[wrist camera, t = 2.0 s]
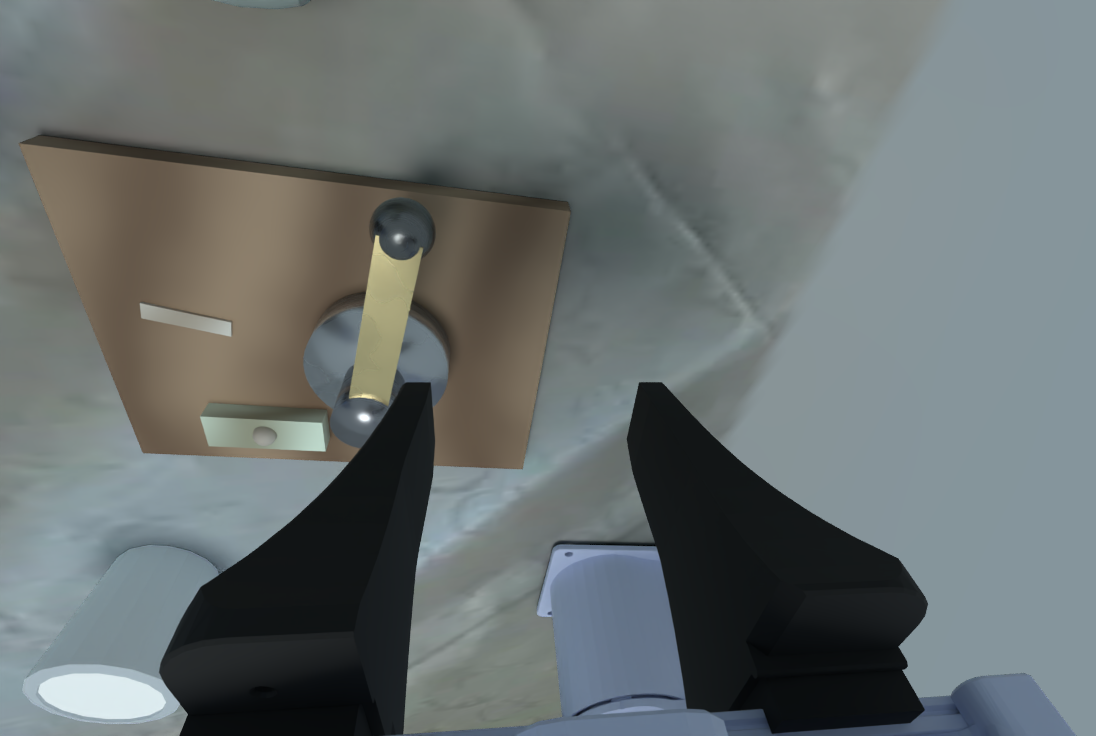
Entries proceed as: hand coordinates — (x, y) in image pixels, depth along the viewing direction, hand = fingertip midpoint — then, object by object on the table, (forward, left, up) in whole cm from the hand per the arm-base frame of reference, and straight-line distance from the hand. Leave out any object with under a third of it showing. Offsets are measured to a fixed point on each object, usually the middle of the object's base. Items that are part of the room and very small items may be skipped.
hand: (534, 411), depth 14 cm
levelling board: (+7, +5, -10) cm, 13 cm away
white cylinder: (+18, +23, -10) cm, 31 cm away
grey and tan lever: (+5, +2, -9) cm, 10 cm away
